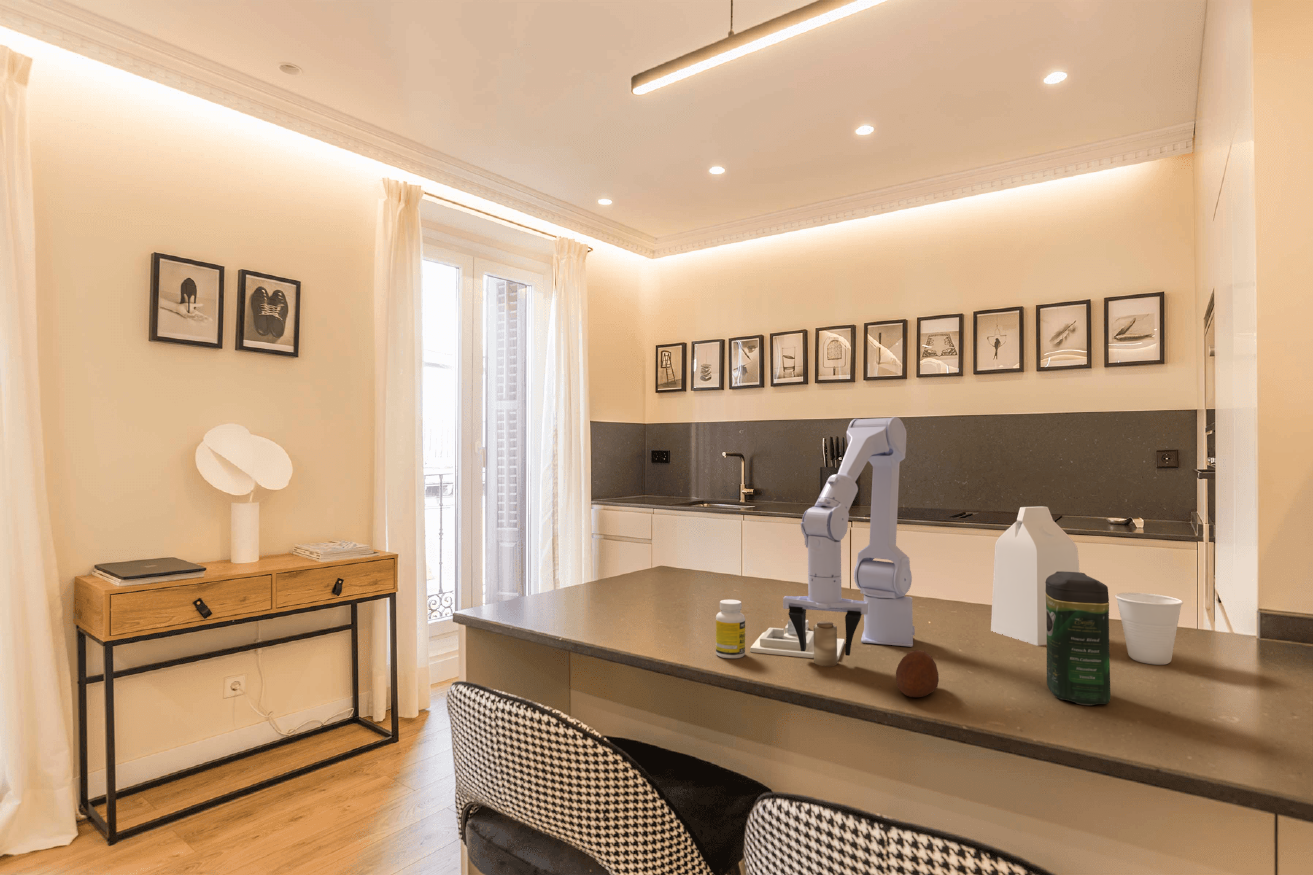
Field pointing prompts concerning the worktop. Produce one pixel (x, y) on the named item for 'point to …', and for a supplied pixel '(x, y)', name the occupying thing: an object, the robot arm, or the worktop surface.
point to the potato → (917, 674)
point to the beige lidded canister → (825, 644)
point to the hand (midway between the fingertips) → (825, 651)
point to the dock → (788, 643)
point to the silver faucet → (791, 628)
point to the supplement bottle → (730, 630)
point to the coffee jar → (1078, 638)
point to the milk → (1028, 573)
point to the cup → (1149, 625)
